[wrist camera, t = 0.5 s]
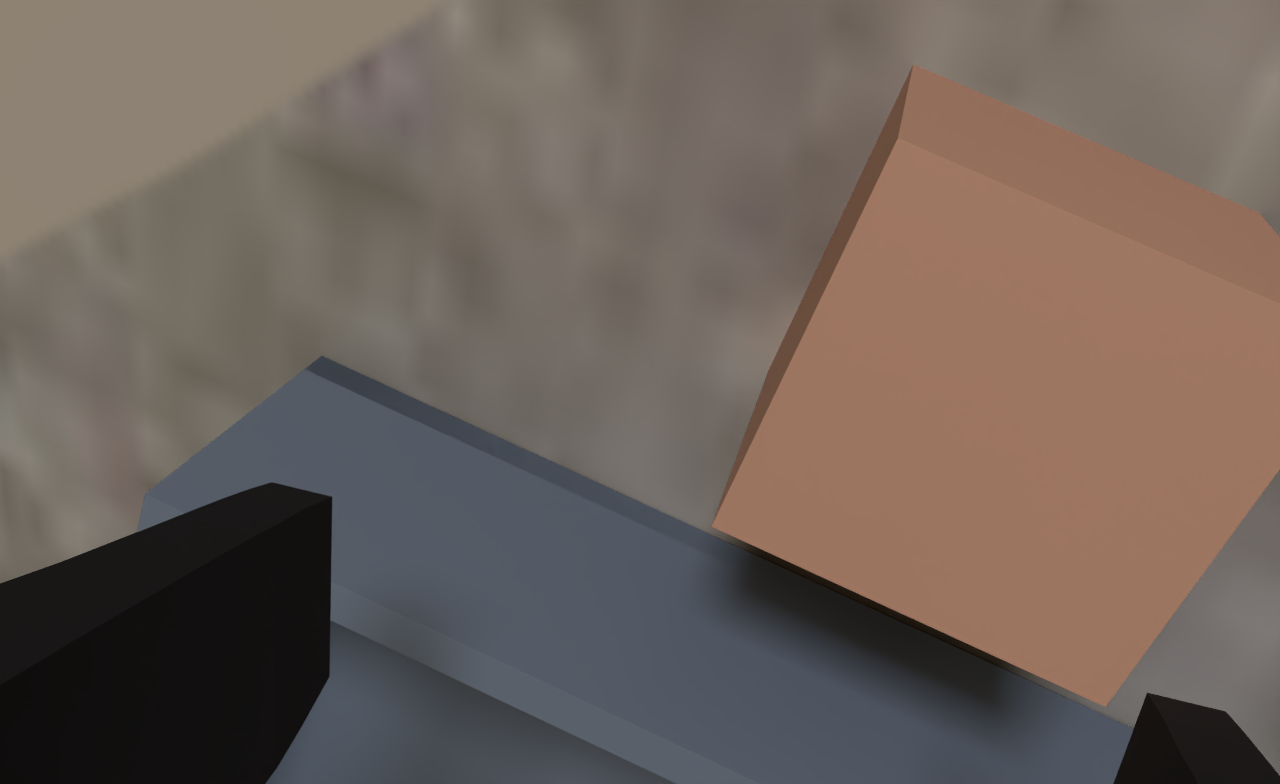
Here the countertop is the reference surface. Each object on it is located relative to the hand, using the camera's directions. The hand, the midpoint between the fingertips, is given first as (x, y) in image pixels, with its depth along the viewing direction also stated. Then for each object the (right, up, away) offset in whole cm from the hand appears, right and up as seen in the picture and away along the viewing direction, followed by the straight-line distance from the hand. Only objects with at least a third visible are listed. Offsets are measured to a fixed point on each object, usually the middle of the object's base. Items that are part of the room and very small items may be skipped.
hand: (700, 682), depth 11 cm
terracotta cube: (+5, +4, +7) cm, 9 cm away
